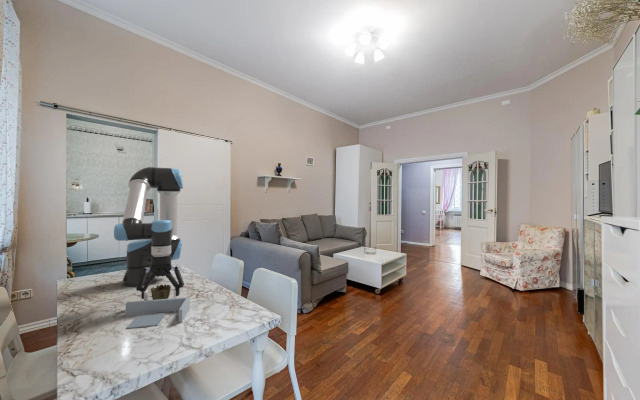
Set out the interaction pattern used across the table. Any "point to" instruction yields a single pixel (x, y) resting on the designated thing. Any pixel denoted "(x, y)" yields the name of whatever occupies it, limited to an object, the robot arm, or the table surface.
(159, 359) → the table surface
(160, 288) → the cup
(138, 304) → the fence
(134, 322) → the mat
